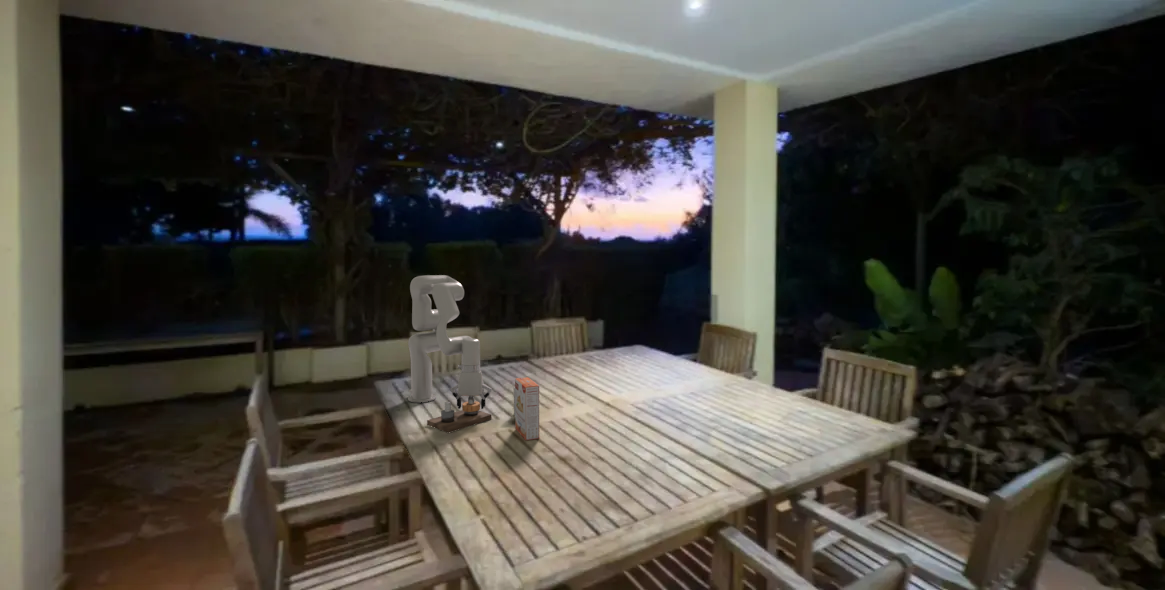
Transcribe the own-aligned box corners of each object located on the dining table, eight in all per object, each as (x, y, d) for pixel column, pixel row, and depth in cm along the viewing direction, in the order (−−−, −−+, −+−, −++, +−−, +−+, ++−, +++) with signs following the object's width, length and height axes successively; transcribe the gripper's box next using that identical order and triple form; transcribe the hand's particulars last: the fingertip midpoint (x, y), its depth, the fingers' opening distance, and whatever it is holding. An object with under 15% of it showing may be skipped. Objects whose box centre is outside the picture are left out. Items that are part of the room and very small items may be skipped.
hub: (461, 414, 222) (460, 394, 222) (472, 410, 227) (472, 391, 226) (470, 417, 219) (470, 397, 218) (481, 413, 223) (481, 394, 223)
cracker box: (514, 429, 210) (514, 377, 209) (528, 427, 213) (528, 376, 211) (524, 441, 198) (524, 386, 196) (539, 439, 200) (540, 385, 198)
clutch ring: (460, 411, 219) (460, 406, 219) (464, 406, 226) (464, 401, 226) (478, 411, 219) (478, 406, 219) (481, 406, 226) (481, 401, 226)
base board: (427, 425, 214) (427, 420, 214) (470, 412, 231) (470, 407, 231) (448, 432, 206) (448, 427, 205) (491, 419, 223) (491, 414, 222)
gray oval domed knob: (438, 421, 213) (438, 402, 213) (449, 417, 217) (449, 399, 217) (446, 423, 210) (446, 405, 209) (457, 420, 214) (456, 402, 213)
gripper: (448, 370, 217) (448, 410, 219) (490, 370, 218) (490, 410, 219) (452, 365, 225) (452, 405, 226) (492, 366, 225) (493, 405, 227)
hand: (471, 407), depth 223 cm, fingers open, 9 cm apart
